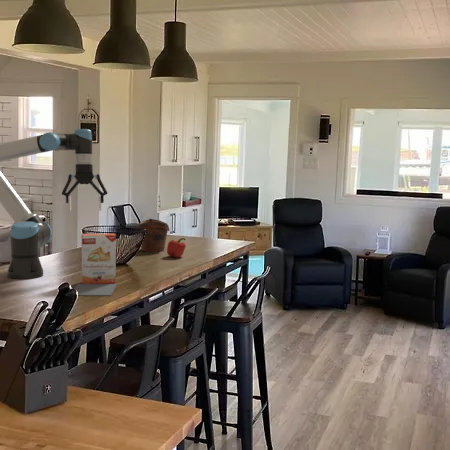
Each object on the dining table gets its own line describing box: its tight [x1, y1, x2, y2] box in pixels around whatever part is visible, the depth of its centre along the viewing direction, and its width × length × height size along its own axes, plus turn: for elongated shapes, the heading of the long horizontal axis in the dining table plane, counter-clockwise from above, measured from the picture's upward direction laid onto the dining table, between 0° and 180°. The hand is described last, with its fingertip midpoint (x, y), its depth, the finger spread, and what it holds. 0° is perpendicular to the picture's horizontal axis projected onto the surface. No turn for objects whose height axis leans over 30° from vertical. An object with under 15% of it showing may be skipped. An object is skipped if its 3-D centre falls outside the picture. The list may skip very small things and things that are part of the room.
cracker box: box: [81, 233, 117, 284], centre depth 265 cm, size 14×6×21 cm, turn 105°
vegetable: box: [166, 237, 187, 259], centre depth 334 cm, size 11×10×10 cm
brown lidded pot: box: [136, 218, 170, 253], centre depth 355 cm, size 18×20×18 cm
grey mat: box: [73, 283, 118, 297], centre depth 253 cm, size 16×20×1 cm
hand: (85, 210), depth 287 cm, fingers open, 13 cm apart
